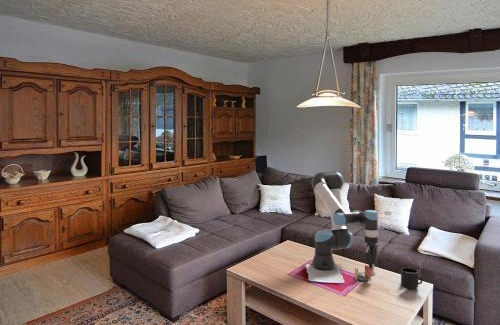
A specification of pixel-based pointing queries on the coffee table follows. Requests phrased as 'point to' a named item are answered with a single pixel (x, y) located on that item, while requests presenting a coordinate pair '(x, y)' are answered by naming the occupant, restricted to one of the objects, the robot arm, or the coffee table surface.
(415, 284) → the mug
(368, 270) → the crank
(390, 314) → the coffee table surface
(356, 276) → the crank base
